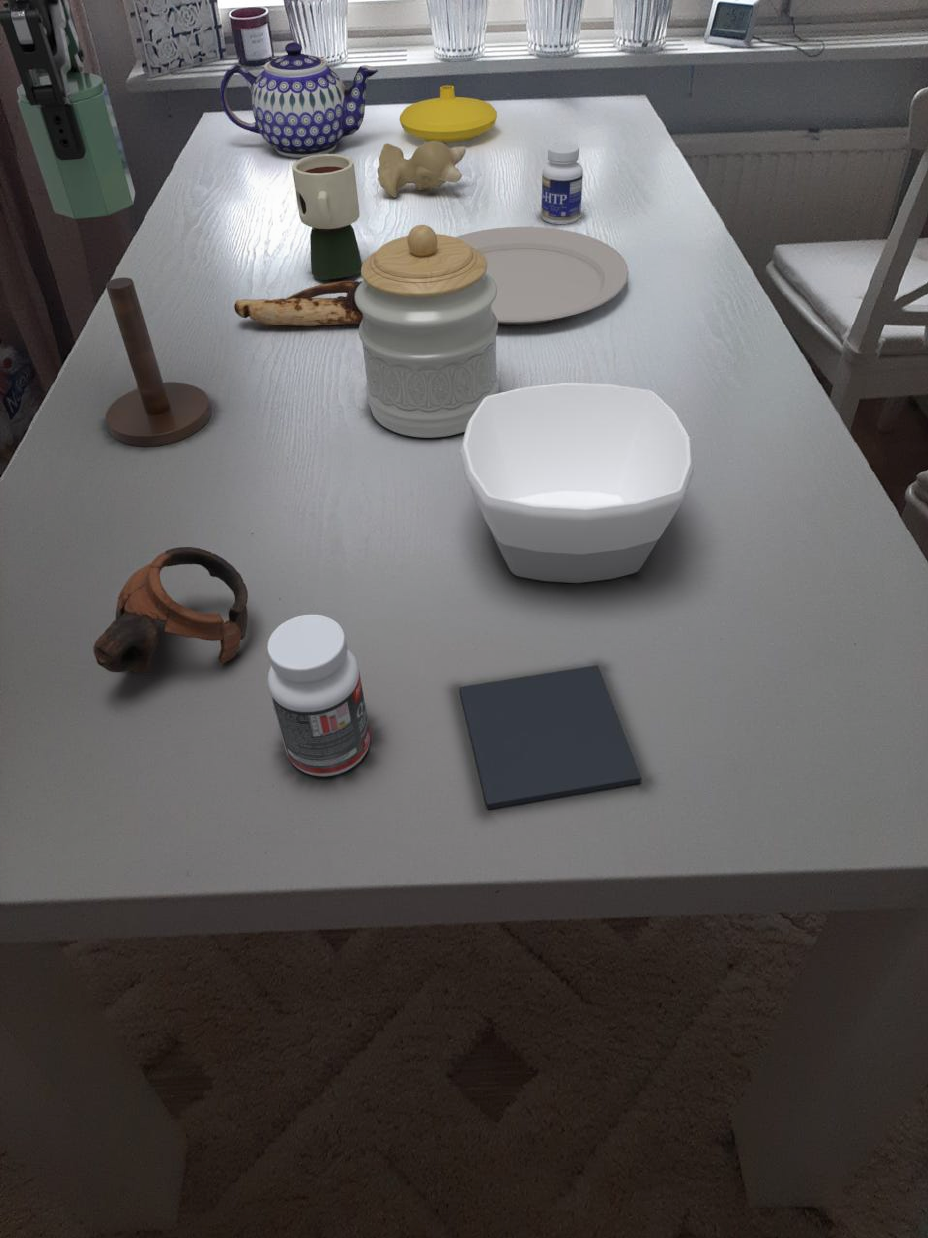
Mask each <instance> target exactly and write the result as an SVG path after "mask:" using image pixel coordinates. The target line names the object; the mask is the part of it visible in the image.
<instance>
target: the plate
mask: <svg viewBox="0 0 928 1238" xmlns="http://www.w3.org/2000/svg"><path fill="white" fill-rule="evenodd" d="M455 238H458V239H460V240H462V241H464V242H465V243H467V244H468V245H469V246H471V247H473V248H475V249H477V250H478V251H480V252H481V253H482V254H483V255H484V256H485V258H486V260H487V270H486V273H487V274H489V275H490V276H491V277H492V278H493V280H494V281H495V283H496V286H497V295H496V298H495V300H494V302H493V303H492V304H491V306H492V311H493V313H494V314H495V316H496V318H497V321H498V325H532V324H533V325H534V324H541V323H547V322H553V321H557V320H561V319H565V318H567V317H570V316H575V315H578V314H581V313H584V312H588V311H590V310H593V309H595V308H598V307H600V306H602V305H603V304H605V303H607V302H608V301H610V300H611V299H613V298H615V297H616V296H617V295H618V294H619V293H620V292H621V291H622V290H623V289H624V287H625V286H626V284H627V281H628V279H629V267H628V264H627V262H626V259H625V258H624V257H623V256H622V254H621V253H620V252H619V251H618V250H616V249H615V248H614V247H612V246H611V245H609V244H607V243H606V242H603V241H602V240H599V239H597V238H595V237H592V236H589V235H587V234H584V233H580V232H576V231H571V230H567V229H560V228H552V227H545V226H544V227H541V226H507V227H499V228H498V227H497V228H489V229H481V230H477V231H472V232H469V233H465V234H460V235H458V236H455Z"/></svg>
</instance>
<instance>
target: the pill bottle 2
mask: <svg viewBox="0 0 928 1238" xmlns="http://www.w3.org/2000/svg"><path fill="white" fill-rule="evenodd" d="M579 157H580V147H579V145H578V144H576V143H574V142H573V143H572V142H565V141H564V142H556V143H552V144H550V145H549V146H548V148H547V161H548V162H547V163H546V164H544V166H543V167H542V172H541V174H542V175H541V208H540V209H541V213H540V215H541V218H542V220H544V221H545V222H548V223H549V224H553V225H567V224H572V223H575V222H578V220H579V219H580V217H581V213H582V212H581V211H582V195H583V194H582V193H583V178H584V177H583V175H584V171H583V170H584V169H583V167H582V164H580V163H579V162H578V161H579Z"/></svg>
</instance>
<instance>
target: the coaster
mask: <svg viewBox="0 0 928 1238" xmlns="http://www.w3.org/2000/svg"><path fill="white" fill-rule="evenodd" d="M459 695H460V699H461V704H462V708H463V712H464V717H465V721H466V726H467V729H468V734H469V738H470V743H471V748H472V751H473V755H474V759H475V764H476V765H475V766H476V769H477V773H478V778H479V781H480V785H481V790H482V793H483V799H484V802H485V803H484V804H485V807H486V810H492V809H497V808H504V807H508V806H515V805H520V804H526V803H527V804H528V803H532V802H533V803H534V802H537V801H538V802H539V801H543V800H549V799H555V798H561V797H566V796H572V795H579V794H585V793H590V792H596V791H601V790H602V791H603V790H608V789H614V788H620V787H624V786H625V787H627V786H630V785H636V784H641V781H642V776H641V774H640V770H639V768H638V765H637V763H636V760H635V758H634V755H633V752H632V750H631V747H630V745H629V742H628V740H627V738H626V735H625V732H624V729H623V726H622V724H621V722H620V719H619V716H618V714H617V711H616V708H615V706H614V704H613V701H612V699H611V696H610V693H609V690H608V688H607V686H606V683H605V679H604V678H603V675H602V673H601V670H600V667H599V665H590V666H584V667H578V668H572V669H565V670H559V671H553V672H552V671H551V672H546V673H541V674H540V673H539V674H534V675H529V676H521V677H514V678H509V679H508V678H507V679H501V680H497V681H496V680H494V681H490V682H482V683H477V684H470V685H465V686H459Z"/></svg>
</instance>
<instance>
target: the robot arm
mask: <svg viewBox="0 0 928 1238" xmlns="http://www.w3.org/2000/svg"><path fill="white" fill-rule="evenodd" d="M0 26H1V27H2V29H3V32H4V35H5V37H6V40H7V44H8V47H9V49H10V52H11V56H12V58H13V61H14V63H15V67H16V70H17V72H18V76H19V78H20V81H21V84H23V87H24V90H25V94H26V98H27V100H28V101H29V103H30V105H31V106H34V105H36V106H37V108H41V111H42V114H43V117H44V120H45V124H46V127H47V130H48V133H49V136H50V139H51V142H52V146H53V149H54V152H55V155H56V157H57V158H58V159H60V160H74V159H82V158H83V157H84V155H85V152H86V149H85V146H84V142H83V139H82V136H81V132H80V129H79V125H78V122H77V119H76V115H75V112H74V109H73V105H72V101H71V100H72V95H71V92H70V91H69V86H68V81H67V76H66V74H67V73H85V68H84V65H83V64H82V63H84V62H85V53H84V49H82V45H81V41H80V38H79V35H78V31H77V30H78V29H77V26H76V22H75V19H74V15H73V11H72V8H71V3H70V1H69V0H6V1H5V2H4V1H3V2H2V10H0ZM42 74H47V76H48V75H49V78H50V81H51V84H50V85H41V83H40V78H39V77H41V75H42Z"/></svg>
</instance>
